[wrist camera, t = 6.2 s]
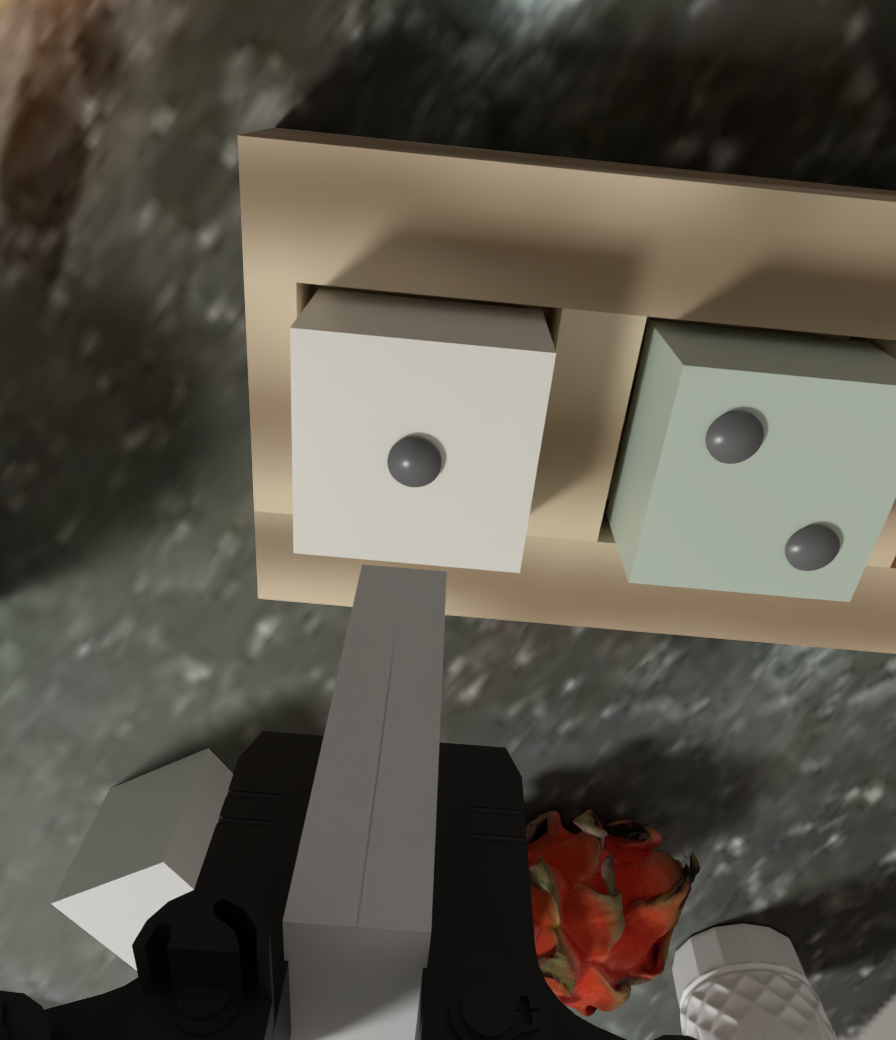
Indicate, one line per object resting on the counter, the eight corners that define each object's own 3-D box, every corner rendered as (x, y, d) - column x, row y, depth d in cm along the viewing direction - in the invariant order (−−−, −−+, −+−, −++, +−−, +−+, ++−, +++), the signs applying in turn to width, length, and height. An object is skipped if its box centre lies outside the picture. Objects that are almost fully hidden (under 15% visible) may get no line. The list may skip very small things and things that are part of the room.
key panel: (273, 127, 22) (237, 135, 18) (1241, 225, 23) (1381, 251, 19) (283, 537, 29) (258, 598, 25) (1022, 602, 30) (1096, 671, 26)
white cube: (188, 858, 39) (144, 977, 34) (110, 786, 36) (49, 903, 31) (283, 823, 37) (253, 942, 32) (209, 746, 35) (162, 862, 30)
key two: (649, 320, 22) (685, 367, 18) (868, 341, 22) (946, 392, 18) (606, 513, 25) (629, 585, 21) (797, 530, 25) (851, 605, 21)
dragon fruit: (433, 836, 40) (643, 747, 39) (500, 998, 38) (720, 911, 37) (397, 898, 32) (663, 786, 30) (480, 1107, 30) (763, 999, 29)
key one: (318, 288, 21) (288, 329, 18) (542, 310, 22) (556, 354, 18) (318, 487, 25) (292, 556, 21) (512, 505, 25) (520, 576, 21)
